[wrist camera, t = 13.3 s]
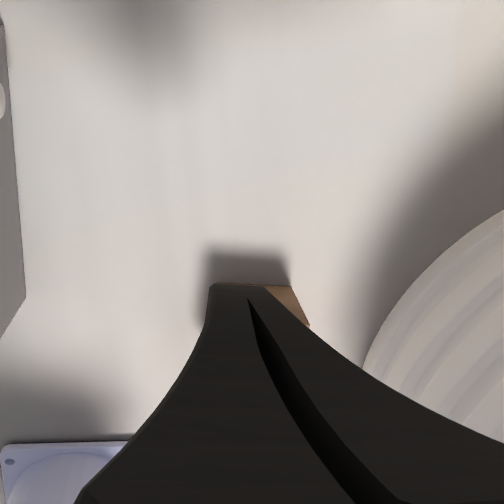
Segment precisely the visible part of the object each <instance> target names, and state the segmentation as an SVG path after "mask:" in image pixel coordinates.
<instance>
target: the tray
mask: <svg viewBox="0 0 504 504" xmlns="http://www.w3.org/2000/svg"><path fill="white" fill-rule="evenodd" d="M25 298H26V290H25V278H24V265H23V253H22V241H21V229H20V217H19V205H18V192H17V180H16V168H15V156H14V144H13V131H12V119H11V107H10V95H9V83H8V71H7V58H6V46H5V34H4V26H3V25H0V338H1V337H2V335H3V333H4V332H5V330H6V329H7V327H8V325H9V324H10V322H11V321H12V319H13V317H14V316H15V314H16V313H17V311H18V309H19V308H20V306H21V305H22V303H23V301H24V300H25Z"/></svg>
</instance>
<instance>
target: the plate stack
mask: <svg viewBox="0 0 504 504" xmlns="http://www.w3.org/2000/svg"><path fill="white" fill-rule="evenodd" d="M362 370H364V371H365V372H367V373H368V374H370V375H371V376H373V377H374V378H376V379H377V380H379V381H381V382H382V383H384V384H386V385H387V386H389V387H390V388H392V389H394V390H396V391H397V392H399V393H401V394H403V395H405V396H406V397H408V398H410V399H412V400H413V401H415V402H417V403H419V404H421V405H422V406H424V407H426V408H428V409H430V410H432V411H434V412H436V413H438V414H440V415H442V416H444V417H446V418H448V419H450V420H452V421H455V422H457V423H459V424H461V425H463V426H465V427H467V428H470V429H472V430H474V431H476V432H478V433H480V434H483V435H485V436H487V437H490V438H492V439H495V440H497V441H500V442H502V443H504V210H502V211H500V212H499V213H497V214H495V215H493V216H492V217H490V218H489V219H487V220H486V221H484V222H483V223H481V224H480V225H478V226H477V227H475V228H474V229H472V230H471V231H470V232H468V233H467V234H466V235H464V236H463V237H462V238H460V239H459V240H458V241H457V242H455V243H454V244H453V245H452V246H450V247H449V248H448V249H447V250H446V251H445V252H444V253H442V254H441V255H440V256H439V257H438V258H437V259H436V260H435V261H434V262H433V263H432V264H431V265H430V266H429V267H428V268H427V269H426V270H425V271H424V272H423V273H422V274H421V275H420V276H419V277H418V278H417V279H416V280H415V281H414V282H413V284H412V285H411V286H410V287H409V288H408V289H407V291H406V292H405V293H404V294H403V296H402V297H401V298H400V299H399V301H398V302H397V304H396V305H395V306H394V308H393V309H392V310H391V312H390V313H389V315H388V316H387V318H386V320H385V321H384V323H383V324H382V326H381V328H380V330H379V331H378V333H377V335H376V337H375V339H374V341H373V343H372V345H371V347H370V349H369V352H368V354H367V356H366V359H365V361H364V364H363V367H362Z"/></svg>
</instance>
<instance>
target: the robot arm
mask: <svg viewBox="0 0 504 504" xmlns="http://www.w3.org/2000/svg"><path fill="white" fill-rule="evenodd" d="M0 463H1V470H2V477H3V484H4V492H5V499H6V504H504V443H502V442H500V441H497V440H495V439H492V438H490V437H487V436H485V435H483V434H480V433H478V432H476V431H474V430H472V429H470V428H467V427H465V426H463V425H461V424H459V423H457V422H455V421H452V420H450V419H448V418H446V417H444V416H442V415H440V414H438V413H436V412H434V411H432V410H430V409H428V408H426V407H424V406H422V405H421V404H419V403H417V402H415V401H413V400H412V399H410V398H408V397H406V396H405V395H403V394H401V393H399V392H397V391H396V390H394V389H392V388H390V387H389V386H387V385H386V384H384V383H382V382H381V381H379V380H377V379H376V378H374V377H373V376H371V375H370V374H368V373H367V372H365V371H364V370H362V369H361V368H359V367H358V366H356V365H355V364H353V363H352V362H351V361H349V360H348V359H346V358H345V357H344V356H342V355H341V354H340V353H338V352H337V351H336V350H335V349H333V348H332V347H331V346H330V345H328V344H327V343H326V342H324V341H323V340H322V339H321V338H320V337H318V336H317V335H316V334H315V333H314V332H312V331H311V330H310V329H309V328H308V327H307V326H306V325H304V324H303V323H302V322H301V321H300V320H299V319H298V318H297V317H296V316H295V315H293V314H292V313H291V312H290V311H289V310H288V309H287V308H286V307H285V306H284V305H283V304H282V303H281V302H280V301H279V300H278V299H277V298H275V297H274V296H273V295H272V294H271V293H270V292H269V291H268V290H267V289H266V288H264V287H263V286H252V285H233V284H213V285H212V286H211V287H210V288H209V295H208V303H207V311H206V319H205V324H204V327H203V329H202V332H201V334H200V336H199V338H198V341H197V343H196V345H195V347H194V350H193V352H192V353H191V355H190V357H189V359H188V361H187V363H186V365H185V366H184V368H183V370H182V371H181V373H180V375H179V376H178V378H177V380H176V381H175V382H174V384H173V385H172V387H171V388H170V390H169V391H168V393H167V394H166V396H165V397H164V399H163V400H162V401H161V403H160V404H159V405H158V407H157V408H156V409H155V411H154V412H153V413H152V414H151V415H150V417H149V418H148V419H147V420H146V421H145V423H144V424H143V425H142V426H141V427H140V428H139V430H138V431H137V432H136V433H135V434H134V436H133V437H132V438H131V439H130V440H129V441H113V442H75V443H38V444H9V445H6V446H4V447H3V448H2V450H1V452H0Z"/></svg>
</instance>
